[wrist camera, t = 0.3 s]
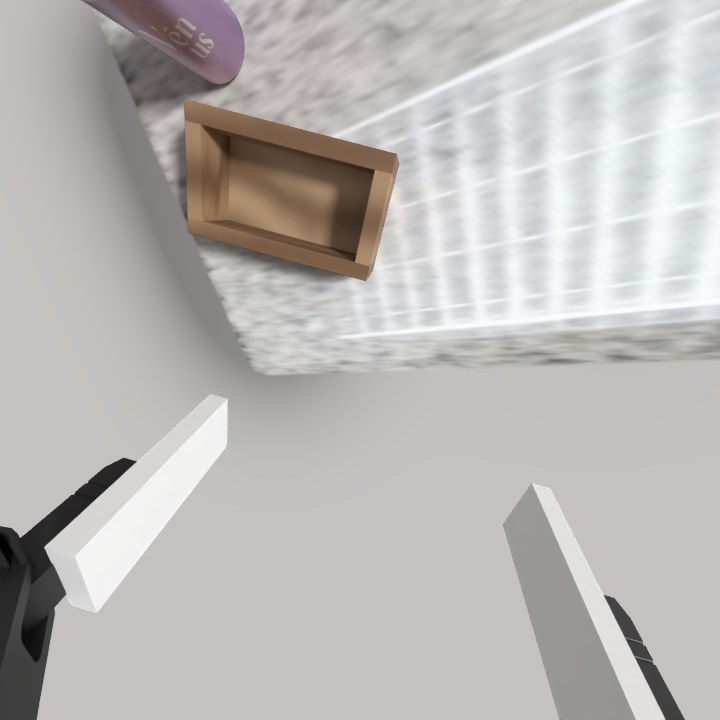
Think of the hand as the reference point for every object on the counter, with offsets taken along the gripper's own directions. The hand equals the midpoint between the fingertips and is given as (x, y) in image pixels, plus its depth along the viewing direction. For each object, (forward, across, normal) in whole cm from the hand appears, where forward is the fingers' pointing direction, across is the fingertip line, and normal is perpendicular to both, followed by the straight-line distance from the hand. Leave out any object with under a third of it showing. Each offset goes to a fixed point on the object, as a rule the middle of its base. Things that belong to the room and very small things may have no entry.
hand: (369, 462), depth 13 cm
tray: (+27, -13, +8) cm, 31 cm away
